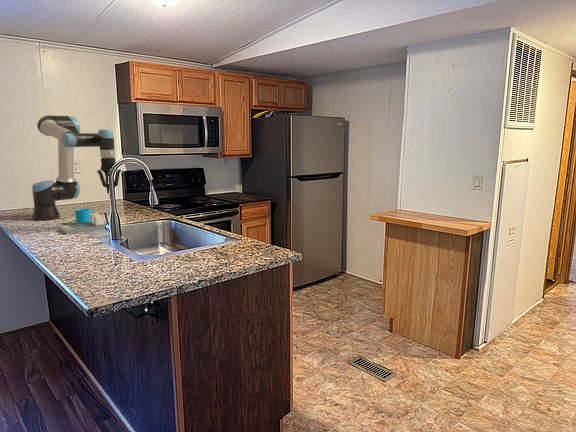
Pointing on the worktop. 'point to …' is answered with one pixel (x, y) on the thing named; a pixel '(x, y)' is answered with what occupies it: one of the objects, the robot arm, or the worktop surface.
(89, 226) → the switch bank
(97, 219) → the tab
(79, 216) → the mug
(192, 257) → the worktop surface
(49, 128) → the robot arm
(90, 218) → the tab
